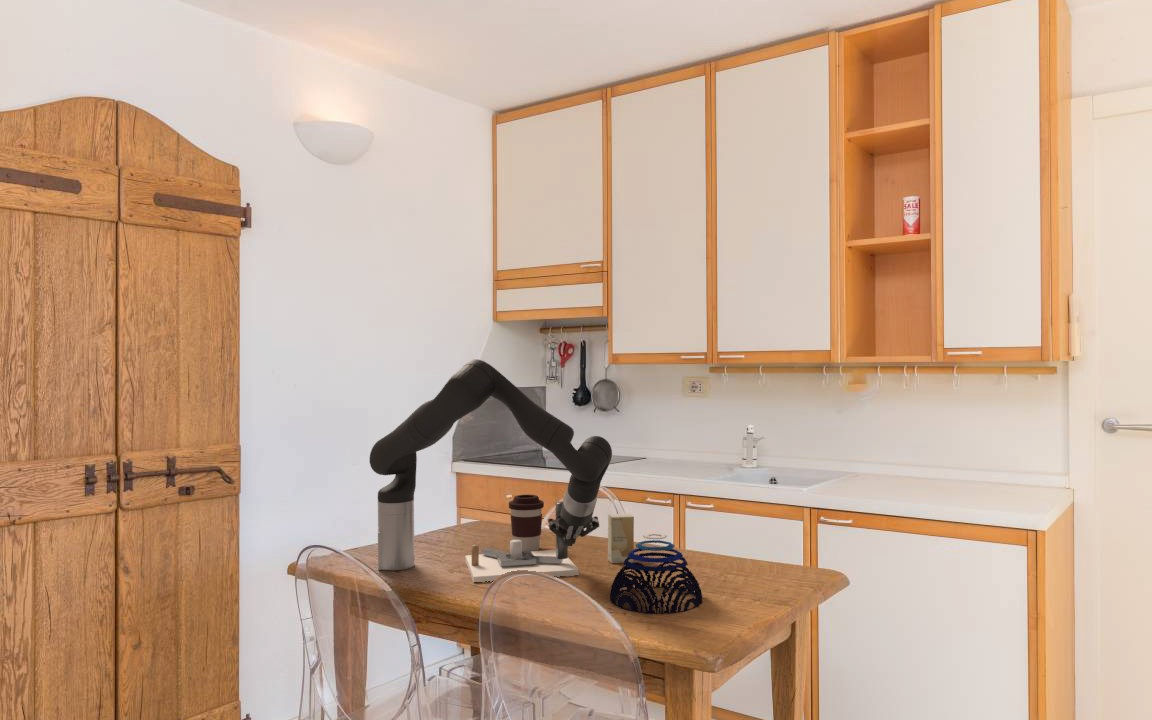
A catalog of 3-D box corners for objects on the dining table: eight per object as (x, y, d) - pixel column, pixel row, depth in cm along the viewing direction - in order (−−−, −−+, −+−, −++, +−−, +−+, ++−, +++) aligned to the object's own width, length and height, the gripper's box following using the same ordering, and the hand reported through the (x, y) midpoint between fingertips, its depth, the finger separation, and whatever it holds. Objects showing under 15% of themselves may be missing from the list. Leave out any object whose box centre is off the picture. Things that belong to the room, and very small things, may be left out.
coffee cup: (528, 555, 220) (528, 500, 220) (501, 550, 226) (501, 497, 226) (551, 548, 228) (550, 495, 228) (524, 543, 234) (524, 492, 234)
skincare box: (611, 564, 210) (610, 517, 210) (607, 560, 214) (606, 514, 214) (634, 562, 211) (634, 516, 211) (630, 558, 215) (630, 513, 215)
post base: (473, 583, 193) (473, 553, 193) (465, 561, 214) (465, 534, 214) (578, 575, 198) (578, 547, 198) (560, 554, 220) (560, 529, 220)
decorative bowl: (591, 600, 178) (590, 536, 178) (649, 582, 192) (649, 522, 192) (661, 621, 164) (660, 550, 164) (718, 600, 178) (718, 535, 178)
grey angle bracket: (488, 568, 198) (487, 507, 198) (480, 552, 215) (480, 496, 215) (569, 563, 203) (568, 503, 203) (555, 548, 220) (555, 492, 220)
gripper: (553, 517, 183) (544, 558, 195) (609, 514, 186) (596, 554, 198) (549, 490, 188) (540, 531, 200) (603, 488, 191) (591, 528, 203)
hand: (568, 543), depth 199 cm, fingers closed
